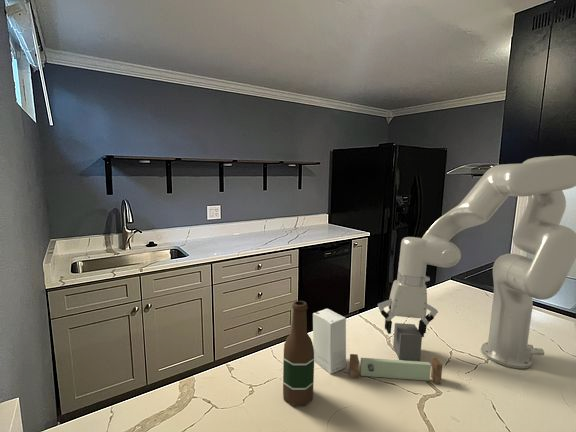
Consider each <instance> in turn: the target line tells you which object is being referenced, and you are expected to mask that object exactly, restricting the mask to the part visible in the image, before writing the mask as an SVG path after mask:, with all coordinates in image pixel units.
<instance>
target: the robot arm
mask: <svg viewBox="0 0 576 432" xmlns="http://www.w3.org/2000/svg"><path fill="white" fill-rule="evenodd" d="M574 187H576V156H575V155H568V154H567V155H554V156H551V155H549V156H538V157H537V156H535V157H532V158H527V159H526V160H524V161H523V162H522V163H507V164H504V163H503V164H496V165H493V166H491V167H490V168H488V169H487V171H485V173H484V174H483V175H482V176H481V177H480V178H479V180H478V181H477V182H476V183H475V185H474V186H473V187H472V188H471V189H470V191H468V194H466V196H465V197H464V198H463V199H462V200H461V201H460V203H458V205H456V206H455V207H453V208H451V209H450V210H449V211H447V212H446V213H445V214H443V215H442V216H440V217H439V218H438V219H436V220H435V221H434V223H433V224H432V225H430V227H428V230H426V231H425V233H424V234H423V236H422V237H415V236H407V237H406V236H405V237H403V238H402V239H401V242H400V249H399V251H400V252H399V260H398V269H397V275H396V276H397V278H396V279H395V280H394V281H393V283H392V286H391V290H390V295H389V297H388V298H389V299H388V300H384V301H381V302H378V303H377V307H378V309H379V311H380V314H381V315H382V317H383V318H384V330H386V332H387V335H390V334H392V328H393V327H392V326H393V321H392V320H393V319H394V318H395V317H402V318H410V319H411V318H412V319H420V320H419V321H418V328H417V329H418V330H419V332H420V333H421V335H422V338H424V337H425V334H426V333H427V327H428V325H429V323H430V322H432V321H433V320H434V319H435V317H436V316H437V314H438V313H439V311H438V309H436V308H435V307H434V306H432V305H430V304H429V303H428V293H427V292H428V291H427V285H426V282H430V279H431V278H430V276H427V275H426V272H427V265H430V266H435V267H439V268H451V267H454V266H456V265H457V264H458V263H459V262H460V260H461V257H462V253H461V250H460V249H459V247H458V246H457V245H456V244H454V242H452V241H450V240H451V239H453V237H455V236H456V235H457V234H458V233H460V232H461V231H464V230H465V229H470V228H472V227H476V226H479V225H483V224H485V223H487V222H488V221H489V220H491V218H492V217H493V216H494V214H495V213H496V211H497V210H498V209H499V208H500V207H501V206H502V204H503V203H504V202H505V201H506V200H507V199H508V198H509V197H510V196H511V197H522V198H523V197H528V198H527V203H526V206H525V209H524V211H523V213H522V216H521V218H520V220H519V221H518V224H517V226H516V228H515V230H514V233H513V236H512V243H513V245H514V246H515V247H516V248H517V249H518V250H521V251H523V252H525V253H528V254H531V255H534V256H533V258H529V257H527V256H525V255H522V254H518V253H505V254H502V255H500V256H498V257H497V258H496V259H495V261H494V263H493V266H492V278H493V279H492V280H493V294H492V295H493V298H492V299H493V300H492V304H491V313H490V315H491V316H490V321H489V322H490V324H489V329H488V330H489V332H488V338H487V339H488V340H487V342H484V343H482V344H481V352H482V354H483V355H484V356H485V357H486V358H488V360H491V361H492V362H494V363H496V364H499V365H501V366H505V367H508V368H512V369H519V370H520V369H528V368H530V367H531V366H532V364H533V358H532V357H533V355H534V356H545V350H544V349H543V348H539V347H534V345H533V344H528V343H529V334H530V328H531V321H532V315H533V314H532V313H533V307H534V306H533V301H534V300H535V299H536V300H538V301H539V300H540V301H541V300H542V301H545V300H548V299H551V298H553V297H554V296H556V295H557V294H558V292H560V290H561V288H562V286H564V283H565V282H566V280H567V277H568V276H569V273H570V272H571V269H572V267H573V265H574V263H575V261H576V232H575V231H574V230H573V229H572V228H570V227H568V226H565V225H561V222H562V219H563V217H564V214H565V211H566V207H567V201H566V199H567V198H566V196H565V194H564V191H566V190H570V189H573V188H574ZM533 299H534V300H533ZM386 307H388V309H389V310H388V311H387V312H386V311H385V308H386ZM427 311H430V312H429V313H428V314H427Z"/></svg>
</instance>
